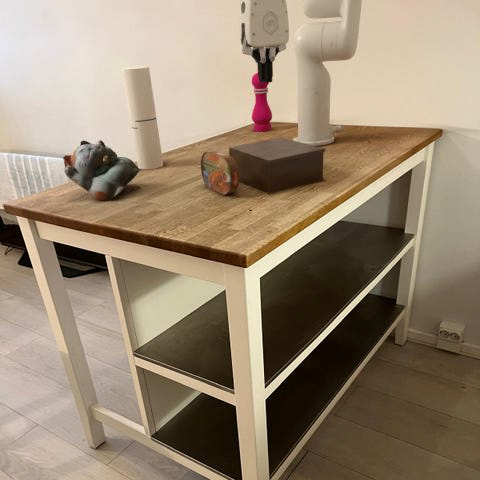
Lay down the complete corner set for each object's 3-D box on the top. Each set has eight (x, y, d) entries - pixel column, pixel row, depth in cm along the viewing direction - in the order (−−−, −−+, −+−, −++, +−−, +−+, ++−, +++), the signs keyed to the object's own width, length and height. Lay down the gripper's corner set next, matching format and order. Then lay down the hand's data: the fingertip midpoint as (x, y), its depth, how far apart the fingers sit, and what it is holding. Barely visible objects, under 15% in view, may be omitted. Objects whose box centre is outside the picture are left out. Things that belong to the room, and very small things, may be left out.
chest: (323, 180, 114) (323, 151, 111) (268, 193, 109) (267, 163, 105) (281, 166, 128) (280, 140, 124) (231, 177, 122) (229, 150, 119)
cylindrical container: (158, 169, 134) (142, 68, 121) (134, 169, 136) (116, 69, 123) (166, 162, 140) (152, 65, 127) (143, 163, 142) (127, 67, 129)
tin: (201, 184, 118) (197, 149, 114) (212, 182, 120) (209, 146, 115) (230, 199, 107) (227, 160, 102) (242, 196, 108) (240, 157, 104)
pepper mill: (251, 132, 170) (247, 68, 160) (253, 128, 176) (250, 66, 166) (271, 131, 169) (269, 67, 159) (273, 127, 175) (271, 65, 165)
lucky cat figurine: (108, 204, 109) (65, 150, 104) (86, 215, 119) (46, 166, 113) (149, 169, 117) (112, 117, 111) (126, 182, 126) (90, 134, 120)
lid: (325, 151, 111) (325, 148, 110) (269, 163, 105) (269, 160, 104) (280, 140, 124) (280, 137, 124) (229, 150, 119) (228, 147, 118)
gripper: (239, -17, 94) (245, 87, 104) (302, -20, 100) (302, 79, 110) (221, -13, 100) (228, 85, 109) (282, -16, 106) (283, 77, 115)
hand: (265, 82), depth 110 cm, fingers closed
